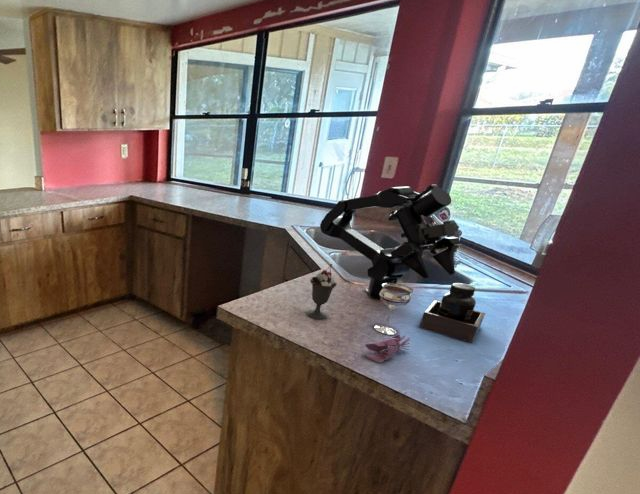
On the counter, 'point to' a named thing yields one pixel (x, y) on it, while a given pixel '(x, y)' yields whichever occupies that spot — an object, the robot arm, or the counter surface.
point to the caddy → (451, 323)
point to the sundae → (321, 292)
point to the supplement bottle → (458, 302)
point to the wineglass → (393, 302)
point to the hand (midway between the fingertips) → (440, 276)
